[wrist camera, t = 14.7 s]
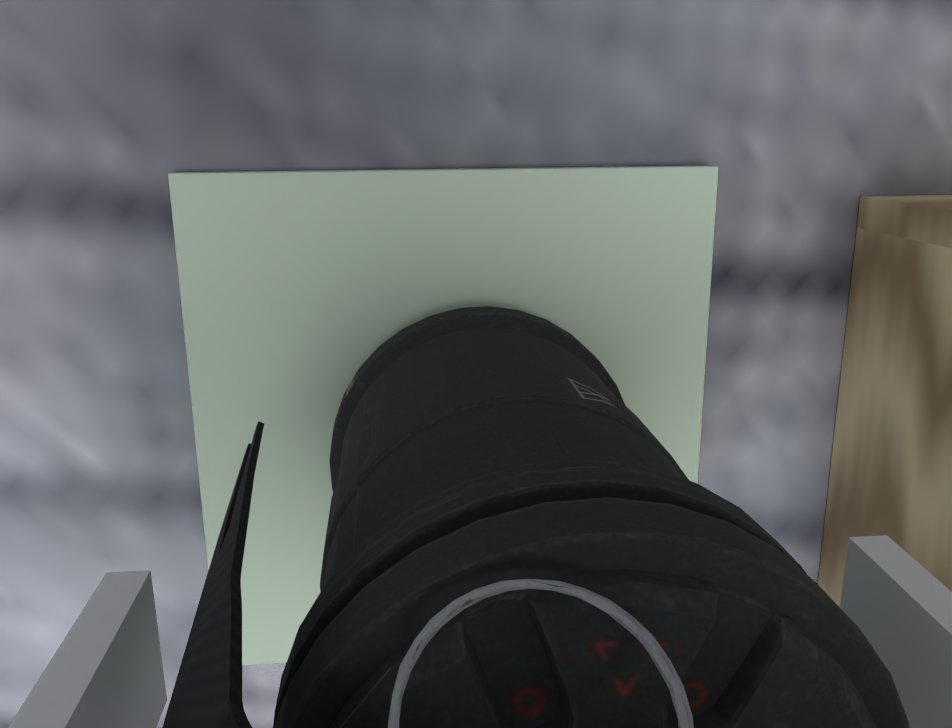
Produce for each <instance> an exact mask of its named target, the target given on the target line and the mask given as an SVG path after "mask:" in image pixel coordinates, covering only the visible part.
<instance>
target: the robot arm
mask: <svg viewBox="0 0 952 728" xmlns="http://www.w3.org/2000/svg"><path fill="white" fill-rule="evenodd" d="M840 608H841V609H842V610H843V611H844V612H845V613H846V615H847V616H848V617H849V618H850V619H851V620H852V621H853V622H854V623H855V624H856V625H857V626H858V627H859V628H860V630H861V631H862V633H863V634H864V635H865V637H866V638H867V640H868V641H869V643H870V644H871V646H872V647H873V649H874V650H875V652H876V653H877V654H878V656H879V657H880V659H881V660H882V662H883V663H884V665H885V666H886V668H887V669H888V670H889V672H890V673H891V676H892V678H893V681H894V684H895V686H896V689H897V692H898V695H899V697H900V700H901V703H902V705H903V708H904V711H905V713H906V716H907V719H908V721H909V725H910V728H952V592H951V591H950V590H949V589H948V588H947V587H946V586H945V585H943V584H942V583H941V582H940V581H939V580H938V579H936V578H935V577H934V576H933V575H932V574H931V573H930V572H928V571H927V570H926V569H925V568H924V567H923V566H922V565H920V564H919V563H918V562H917V561H916V560H915V559H914V558H912V557H911V556H910V555H909V554H908V553H907V552H906V551H904V550H903V549H902V548H901V547H900V546H899V545H897V544H896V543H895V542H894V541H893V540H892V539H891V538H889V537H888V536H887V535H883V536H862V537H849V540H848V548H847V555H846V563H845V571H844V578H843V586H842V594H841V602H840ZM166 701H167V696H166V689H165V681H164V673H163V665H162V657H161V650H160V642H159V634H158V626H157V618H156V611H155V603H154V595H153V587H152V579H151V572H150V571H131V572H110V573H106V575H105V576H104V578H103V579H102V581H101V582H100V584H99V586H98V587H97V589H96V590H95V592H94V593H93V595H92V597H91V598H90V600H89V601H88V603H87V604H86V606H85V608H84V609H83V611H82V612H81V614H80V615H79V617H78V619H77V620H76V622H75V623H74V625H73V626H72V628H71V630H70V631H69V633H68V634H67V636H66V637H65V639H64V641H63V642H62V644H61V645H60V647H59V648H58V650H57V652H56V653H55V655H54V656H53V658H52V659H51V661H50V663H49V664H48V666H47V667H46V669H45V670H44V672H43V674H42V675H41V677H40V678H39V680H38V681H37V683H36V685H35V686H34V688H33V689H32V691H31V692H30V694H29V696H28V697H27V699H26V700H25V702H24V703H23V705H22V707H21V708H20V710H19V711H18V713H17V714H16V716H15V718H14V719H13V721H12V722H11V724H10V725H9V727H8V728H156V726H157V724H158V721H159V719H160V716H161V714H162V711H163V709H164V706H165V704H166Z"/></svg>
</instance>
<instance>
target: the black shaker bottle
mask: <svg viewBox="0 0 952 728" xmlns="http://www.w3.org/2000/svg"><path fill="white" fill-rule="evenodd" d="M263 428H264V423H262V422H259V421H258V423H257V426H256V429H255V432H254V436H253V440H252V443H251V444H250V443H249V444H248V446H247V448H246V452H245V455H244V458H243V461H242V464H241V467H240V470H239V474H238V477H237V480H236V483H235V486H234V489H233V493H232V496H231V499H230V502H229V505H228V508H227V511H226V515H225V518H224V521H223V524H222V527H221V530H220V534H219V537H218V540H217V544H216V547H215V550H214V554H213V557H212V561H211V564H210V567H209V571H208V574H207V578H206V581H205V584H204V588H203V591H202V595H201V598H200V601H199V605H198V608H197V612H196V615H195V618H194V622H193V625H192V629H191V632H190V636H189V639H188V642H187V646H186V649H185V653H184V656H183V659H182V663H181V666H180V670H179V673H178V676H177V680H176V683H175V687H174V690H173V693H172V697H171V700H170V704H169V707H168V710H167V714H166V717H165V721H164V725H163V728H252V726H251V724H250V723H249V721H248V719H247V717H246V714H245V712H244V709H243V703H242V598H241V571H242V564H243V556H244V549H245V541H246V534H247V527H248V519H249V512H250V504H251V497H252V490H253V482H254V475H255V469H256V464H257V459H258V454H259V449H260V443H261V438H262V433H263ZM329 462H330V473H331V483H332V490H333V495H332V498H331V505H330V512H329V519H328V525H327V532H326V539H325V546H324V553H323V562H322V570H321V578H320V594H319V596H318V597H317V599H316V601H315V602H314V604H313V605H312V607H311V609H310V610H309V612H308V614H307V615H306V617H305V618H304V620H303V622H302V623H301V625H300V627H299V629H298V631H297V634H296V637H295V640H294V643H293V646H292V649H291V651H290V654H289V657H288V660H287V663H286V666H285V669H284V671H283V674H282V677H281V683H280V688H279V693H278V698H277V704H276V709H275V716H274V725H273V728H910V725H909V721H908V719H907V716H906V713H905V711H904V708H903V705H902V703H901V700H900V697H899V695H898V692H897V689H896V686H895V684H894V681H893V678H892V676H891V673H890V672H889V670H888V669H887V668H886V666H885V665H884V663H883V662H882V660H881V659H880V657H879V656H878V654H877V653H876V652H875V650H874V649H873V647H872V646H871V644H870V643H869V641H868V640H867V638H866V637H865V635H864V634H863V633H862V631H861V630H860V628H859V627H858V626H857V625H856V624H855V623H854V622H853V621H852V620H851V619H850V618H849V617H848V616H847V615H846V613H845V612H844V611H843V610H842V609H841V608H840V607H839V606H838V605H837V604H836V603H835V602H834V601H833V600H832V599H831V598H830V597H829V596H828V595H827V594H826V592H825V591H824V590H823V589H822V588H821V587H820V586H819V585H818V584H817V583H815V582H814V581H813V580H812V579H811V578H810V577H809V576H808V575H807V574H806V573H805V571H804V570H803V568H802V567H801V566H800V565H799V564H798V563H797V562H796V561H795V560H794V558H793V557H792V556H791V555H790V554H789V553H788V552H787V551H786V550H785V549H784V548H783V547H782V546H781V545H780V544H779V543H778V542H777V541H776V540H775V539H774V538H773V537H772V536H771V535H770V534H768V533H767V532H766V531H765V530H764V529H763V528H762V527H761V526H760V525H758V524H757V523H756V522H755V521H754V520H753V519H752V518H751V517H750V516H749V515H747V514H746V513H745V512H744V511H743V510H742V509H741V508H739V507H737V506H736V505H734V504H732V503H730V502H729V501H727V500H725V499H723V498H722V497H720V496H718V495H716V494H714V493H713V492H711V491H709V490H707V489H706V488H704V487H702V486H700V485H699V484H697V483H695V482H692V481H689V479H688V478H687V477H686V475H685V474H684V472H683V471H682V470H681V468H680V467H679V465H678V464H677V463H676V461H675V460H674V458H673V457H672V456H671V454H670V453H669V452H668V451H667V450H666V449H665V448H664V446H663V445H662V444H661V443H660V442H659V441H658V440H657V438H656V437H655V436H654V435H653V434H652V433H651V432H650V431H649V429H648V428H647V427H646V426H645V425H644V424H643V423H642V421H641V420H640V419H639V418H638V417H637V416H636V415H635V414H634V413H633V412H632V411H631V410H630V409H628V408H627V407H626V405H625V403H624V401H623V398H622V396H621V394H620V392H619V389H618V387H617V385H616V383H615V382H614V380H613V379H612V378H611V376H610V375H609V373H608V372H607V371H606V369H605V368H604V366H603V365H602V364H601V362H600V361H599V360H598V359H597V358H596V357H595V356H594V354H593V353H592V352H590V351H589V350H588V349H587V348H586V347H585V346H584V345H583V344H582V343H581V342H580V341H578V340H577V339H576V338H575V337H574V336H573V335H572V334H570V333H569V332H567V331H565V330H564V329H562V328H560V327H558V326H557V325H555V324H553V323H552V322H550V321H548V320H547V319H544V318H541V317H538V316H535V315H532V314H529V313H526V312H523V311H520V310H515V309H507V308H500V307H492V306H483V307H467V308H457V309H453V310H450V311H446V312H442V313H438V314H434V315H430V316H428V317H426V318H424V319H422V320H420V321H418V322H416V323H414V324H411V325H409V326H407V327H405V328H403V329H402V330H400V331H399V332H398V333H396V334H395V335H394V336H392V337H391V338H390V339H388V340H387V341H385V342H384V343H383V344H381V345H380V346H379V347H378V348H377V349H376V350H375V351H374V352H373V353H372V354H371V356H370V357H369V358H368V359H367V360H366V361H365V362H364V363H363V364H362V366H361V367H360V368H359V369H358V371H357V372H356V374H355V376H354V377H353V379H352V381H351V383H350V384H349V386H348V388H347V389H346V391H345V393H344V395H343V398H342V401H341V404H340V407H339V410H338V413H337V415H336V418H335V422H334V428H333V434H332V442H331V451H330V459H329Z"/></svg>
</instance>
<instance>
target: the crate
mask: <svg viewBox="0 0 952 728" xmlns="http://www.w3.org/2000/svg"><path fill="white" fill-rule="evenodd" d="M883 535H887V536H888V537H889V538H891V539H892V540H893V541H894V542H895V543H896V544H897V545H899V546H900V547H901V548H902V549H903V550H904V551H906V552H907V553H908V554H909V555H910V556H911V557H912V558H914V559H915V560H916V561H917V562H918V563H919V564H920V565H922V566H923V567H924V568H925V569H926V570H927V571H928V572H930V573H931V574H932V575H933V576H934V577H935V578H936V579H938V580H939V581H940V582H941V583H942V584H943V585H945V586H946V587H947V588H948V589H949V590H950V591H951V592H952V195H892V196H860V205H859V214H858V223H857V232H856V241H855V250H854V259H853V268H852V278H851V287H850V296H849V305H848V314H847V323H846V332H845V341H844V350H843V359H842V368H841V377H840V386H839V395H838V404H837V414H836V423H835V432H834V441H833V450H832V459H831V468H830V477H829V486H828V495H827V504H826V513H825V522H824V531H823V540H822V550H821V559H820V568H819V577H818V585H819V586H820V587H821V588H822V589H823V590H824V591H825V592H826V594H827V595H828V596H829V597H830V598H831V599H832V600H833V601H834V602H835V603H836V604H837V605H838V606H839V607H840V602H841V594H842V586H843V578H844V571H845V563H846V555H847V548H848V540H849V537H862V536H883Z"/></svg>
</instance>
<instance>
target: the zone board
mask: <svg viewBox="0 0 952 728" xmlns="http://www.w3.org/2000/svg"><path fill="white" fill-rule="evenodd" d="M168 178H169V188H170V198H171V207H172V217H173V227H174V237H175V247H176V257H177V266H178V276H179V286H180V296H181V306H182V315H183V325H184V335H185V345H186V355H187V365H188V374H189V384H190V394H191V404H192V414H193V423H194V433H195V443H196V453H197V463H198V473H199V482H200V492H201V502H202V512H203V522H204V531H205V541H206V551H207V561H208V571H209V567H210V564H211V561H212V557H213V554H214V550H215V547H216V544H217V540H218V537H219V534H220V530H221V527H222V524H223V521H224V518H225V515H226V511H227V508H228V505H229V502H230V499H231V496H232V493H233V489H234V486H235V483H236V480H237V477H238V474H239V470H240V467H241V464H242V461H243V458H244V455H245V452H246V448H247V446H248V444H249V443H250V444H251V443H252V440H253V436H254V432H255V429H256V426H257V423H258V421H259V422H262V423H264V428H263V433H262V438H261V443H260V449H259V454H258V459H257V464H256V469H255V475H254V482H253V490H252V497H251V504H250V512H249V519H248V527H247V534H246V541H245V549H244V556H243V564H242V571H241V598H242V665H254V664H270V663H286V662H287V660H288V657H289V654H290V651H291V649H292V646H293V643H294V640H295V637H296V634H297V631H298V629H299V627H300V625H301V623H302V622H303V620H304V618H305V617H306V615H307V614H308V612H309V610H310V609H311V607H312V605H313V604H314V602H315V601H316V599H317V597H318V596H319V594H320V578H321V570H322V562H323V553H324V546H325V539H326V532H327V525H328V519H329V512H330V505H331V498H332V495H333V490H332V483H331V473H330V462H329V459H330V451H331V442H332V434H333V428H334V422H335V418H336V415H337V413H338V410H339V407H340V404H341V401H342V398H343V395H344V393H345V391H346V389H347V388H348V386H349V384H350V383H351V381H352V379H353V377H354V376H355V374H356V372H357V371H358V369H359V368H360V367H361V366H362V364H363V363H364V362H365V361H366V360H367V359H368V358H369V357H370V356H371V354H372V353H373V352H374V351H375V350H376V349H377V348H378V347H379V346H380V345H381V344H383V343H384V342H385V341H387V340H388V339H390V338H391V337H392V336H394V335H395V334H396V333H398V332H399V331H400V330H402V329H403V328H405V327H407V326H409V325H411V324H414V323H416V322H418V321H420V320H422V319H424V318H426V317H428V316H430V315H434V314H438V313H442V312H446V311H450V310H453V309H457V308H467V307H483V306H492V307H500V308H507V309H515V310H520V311H523V312H526V313H529V314H532V315H535V316H538V317H541V318H544V319H547V320H548V321H550V322H552V323H553V324H555V325H557V326H558V327H560V328H562V329H564V330H565V331H567V332H569V333H570V334H572V335H573V336H574V337H575V338H576V339H577V340H578V341H580V342H581V343H582V344H583V345H584V346H585V347H586V348H587V349H588V350H589V351H590V352H592V353H593V354H594V356H595V357H596V358H597V359H598V360H599V361H600V362H601V364H602V365H603V366H604V368H605V369H606V371H607V372H608V373H609V375H610V376H611V378H612V379H613V380H614V382H615V383H616V385H617V387H618V389H619V392H620V394H621V396H622V398H623V401H624V403H625V405H626V407H627V408H628V409H630V410H631V411H632V412H633V413H634V414H635V415H636V416H637V417H638V418H639V419H640V420H641V421H642V423H643V424H644V425H645V426H646V427H647V428H648V429H649V431H650V432H651V433H652V434H653V435H654V436H655V437H656V438H657V440H658V441H659V442H660V443H661V444H662V445H663V446H664V448H665V449H666V450H667V451H668V452H669V453H670V454H671V456H672V457H673V458H674V460H675V461H676V463H677V464H678V465H679V467H680V468H681V470H682V471H683V472H684V474H685V475H686V477H687V478H688V479H689V481H692V482H695V483H697V484H698V469H699V453H700V438H701V423H702V408H703V393H704V378H705V362H706V347H707V332H708V317H709V302H710V287H711V272H712V256H713V241H714V226H715V211H716V196H717V181H718V167H717V166H634V167H556V168H478V169H400V170H322V171H243V172H174V173H170V174H168Z"/></svg>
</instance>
